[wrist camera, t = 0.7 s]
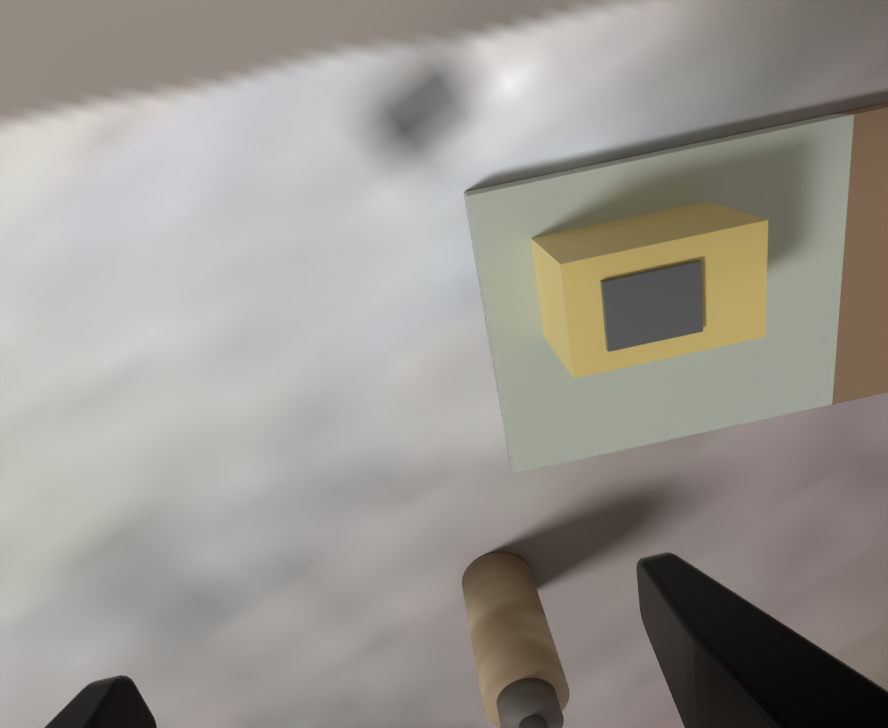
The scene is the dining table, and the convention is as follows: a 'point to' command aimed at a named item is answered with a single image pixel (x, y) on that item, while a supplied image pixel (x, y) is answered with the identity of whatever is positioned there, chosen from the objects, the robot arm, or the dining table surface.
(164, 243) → the dining table surface
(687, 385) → the board
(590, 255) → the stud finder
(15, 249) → the dining table surface
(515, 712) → the awl
